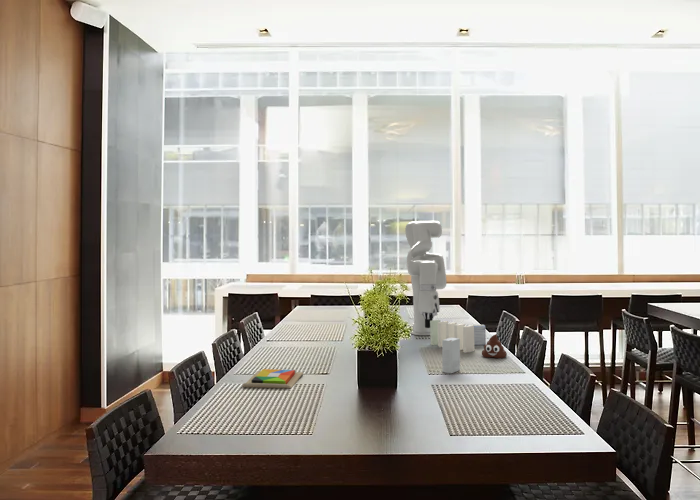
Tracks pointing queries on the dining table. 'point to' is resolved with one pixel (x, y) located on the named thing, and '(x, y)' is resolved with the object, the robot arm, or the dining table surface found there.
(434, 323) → the domino
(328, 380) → the dining table surface
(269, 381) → the wooden puzzle
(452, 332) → the domino
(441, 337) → the domino
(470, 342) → the domino
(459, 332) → the domino
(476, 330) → the medicine box
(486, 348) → the poop emoji
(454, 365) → the skincare box
